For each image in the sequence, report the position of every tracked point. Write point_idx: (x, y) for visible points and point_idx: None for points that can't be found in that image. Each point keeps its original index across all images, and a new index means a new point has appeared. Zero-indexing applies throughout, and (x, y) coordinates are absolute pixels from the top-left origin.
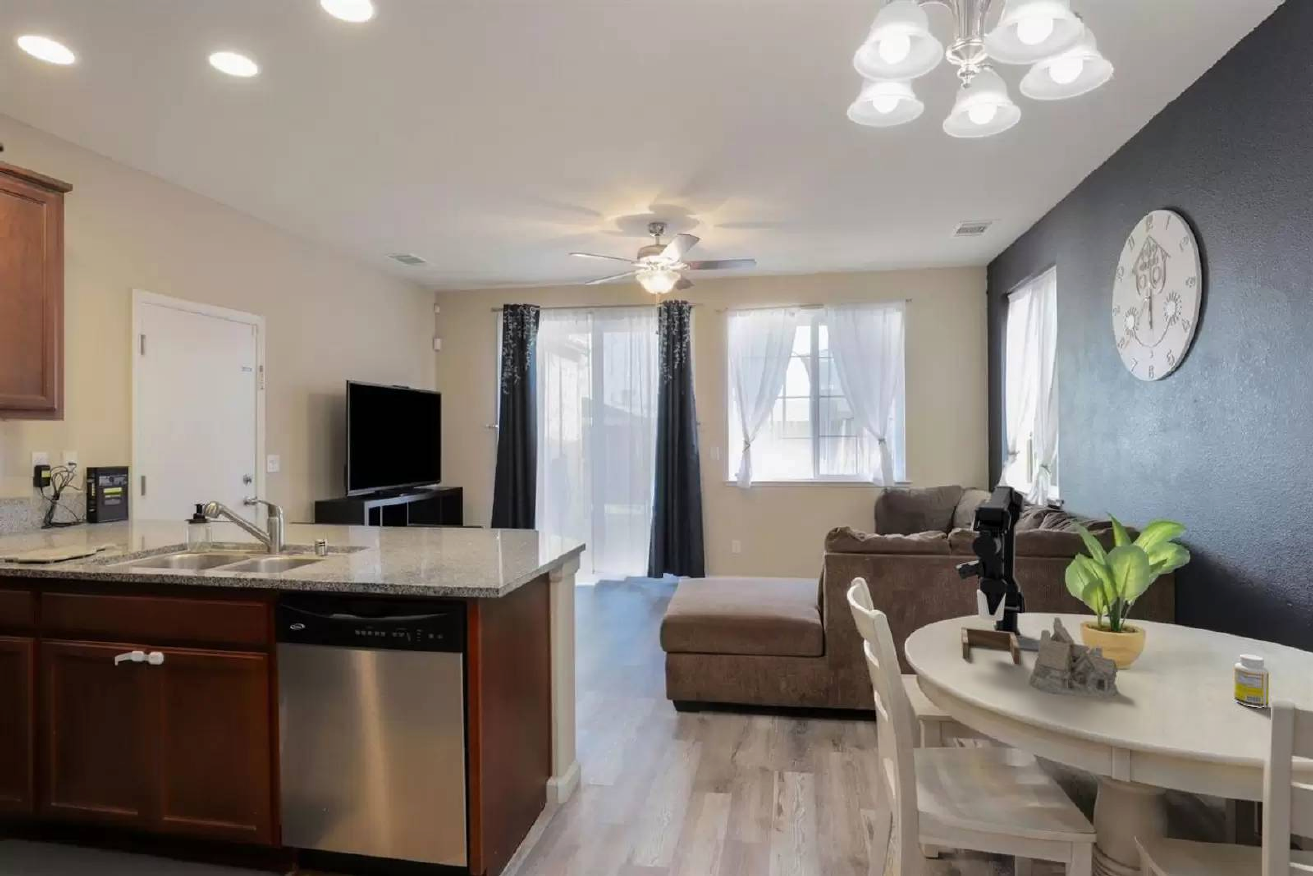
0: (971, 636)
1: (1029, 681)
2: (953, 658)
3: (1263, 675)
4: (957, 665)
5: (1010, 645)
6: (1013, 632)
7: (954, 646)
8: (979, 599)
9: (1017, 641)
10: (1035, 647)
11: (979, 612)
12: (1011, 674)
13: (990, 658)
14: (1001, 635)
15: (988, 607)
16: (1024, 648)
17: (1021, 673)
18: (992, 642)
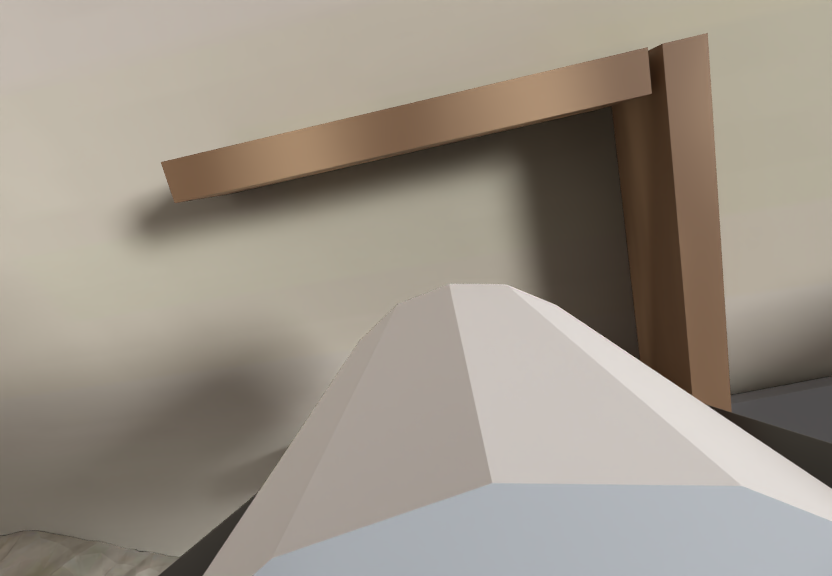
0: (638, 140)
1: (17, 539)
2: (159, 108)
3: None
4: (27, 166)
5: None
6: None
7: (468, 45)
8: (316, 436)
9: (788, 409)
10: None
11: (399, 317)
12: (102, 449)
13: (329, 313)
14: (676, 362)
15: (199, 544)
16: None
17: (159, 486)
18: (640, 285)
